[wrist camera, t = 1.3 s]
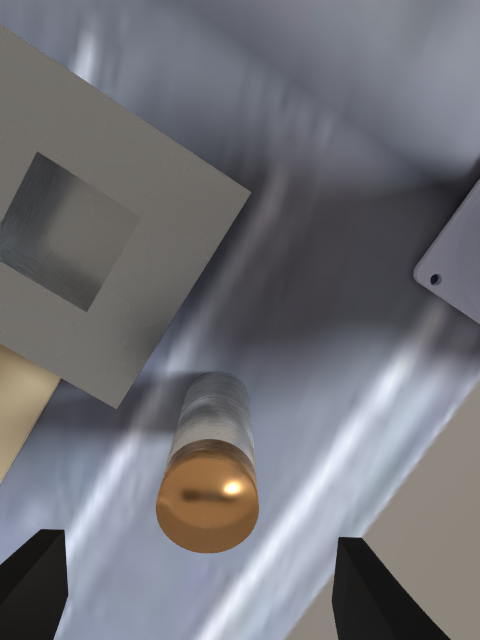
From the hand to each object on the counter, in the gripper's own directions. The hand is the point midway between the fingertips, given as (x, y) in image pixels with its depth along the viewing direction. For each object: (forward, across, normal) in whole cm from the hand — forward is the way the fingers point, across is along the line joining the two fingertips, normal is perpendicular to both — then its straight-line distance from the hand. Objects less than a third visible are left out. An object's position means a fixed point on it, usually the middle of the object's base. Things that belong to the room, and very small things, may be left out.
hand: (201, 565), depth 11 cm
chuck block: (+10, +10, -10) cm, 17 cm away
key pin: (+10, 0, 0) cm, 10 cm away
